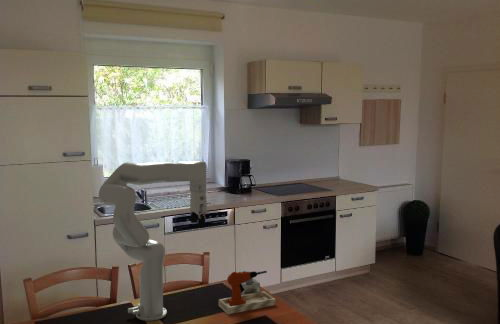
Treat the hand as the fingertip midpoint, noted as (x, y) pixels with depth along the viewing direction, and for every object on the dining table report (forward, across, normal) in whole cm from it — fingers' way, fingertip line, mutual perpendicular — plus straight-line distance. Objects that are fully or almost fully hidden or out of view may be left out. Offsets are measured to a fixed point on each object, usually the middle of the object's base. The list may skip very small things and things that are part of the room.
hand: (197, 224), depth 210 cm
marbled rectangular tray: (+33, -20, -16) cm, 42 cm away
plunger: (+33, -9, -22) cm, 41 cm away
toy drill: (+32, -21, -15) cm, 41 cm away
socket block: (+33, -9, -22) cm, 41 cm away
